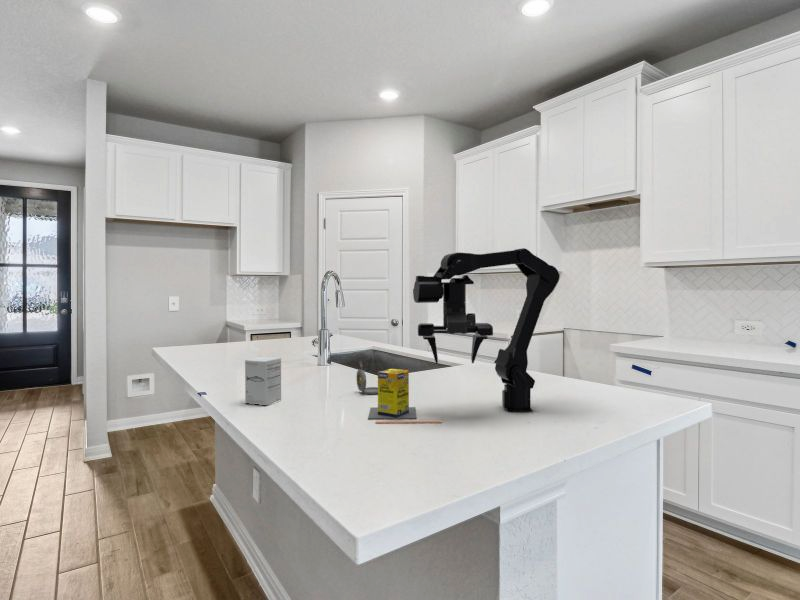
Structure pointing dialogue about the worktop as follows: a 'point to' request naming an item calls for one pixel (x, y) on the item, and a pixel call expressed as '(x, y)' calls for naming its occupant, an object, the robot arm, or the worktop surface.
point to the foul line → (405, 422)
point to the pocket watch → (364, 382)
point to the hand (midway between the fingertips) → (454, 363)
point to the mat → (374, 415)
